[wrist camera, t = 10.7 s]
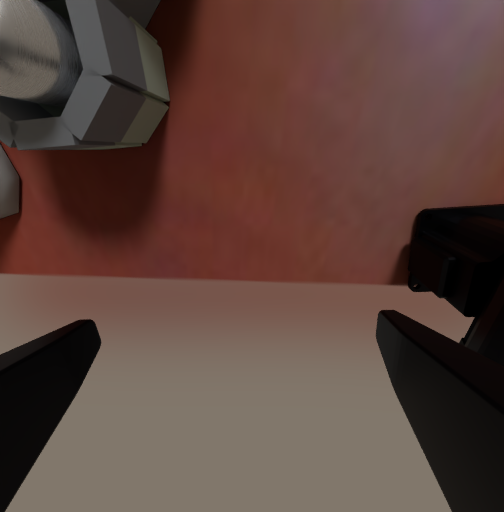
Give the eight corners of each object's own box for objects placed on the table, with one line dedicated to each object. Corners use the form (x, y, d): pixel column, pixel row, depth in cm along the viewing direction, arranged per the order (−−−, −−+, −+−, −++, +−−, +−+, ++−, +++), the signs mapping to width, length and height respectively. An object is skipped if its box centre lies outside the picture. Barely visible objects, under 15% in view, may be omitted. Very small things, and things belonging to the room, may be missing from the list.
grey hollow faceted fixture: (128, 172, 20) (58, 183, 13) (27, 91, 18) (-108, 59, 12) (261, -40, 15) (252, -183, 8) (139, -173, 13) (16, -475, 7)
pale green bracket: (190, 72, 17) (141, 26, 11) (128, 172, 20) (58, 183, 13) (-34, -138, 14) (-287, -376, 8) (-73, 11, 17) (-287, -75, 10)
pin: (128, 42, 17) (-13, -64, 8) (143, 114, 18) (35, 85, 10) (68, 49, 17) (-123, -44, 9) (87, 119, 19) (-62, 96, 10)
